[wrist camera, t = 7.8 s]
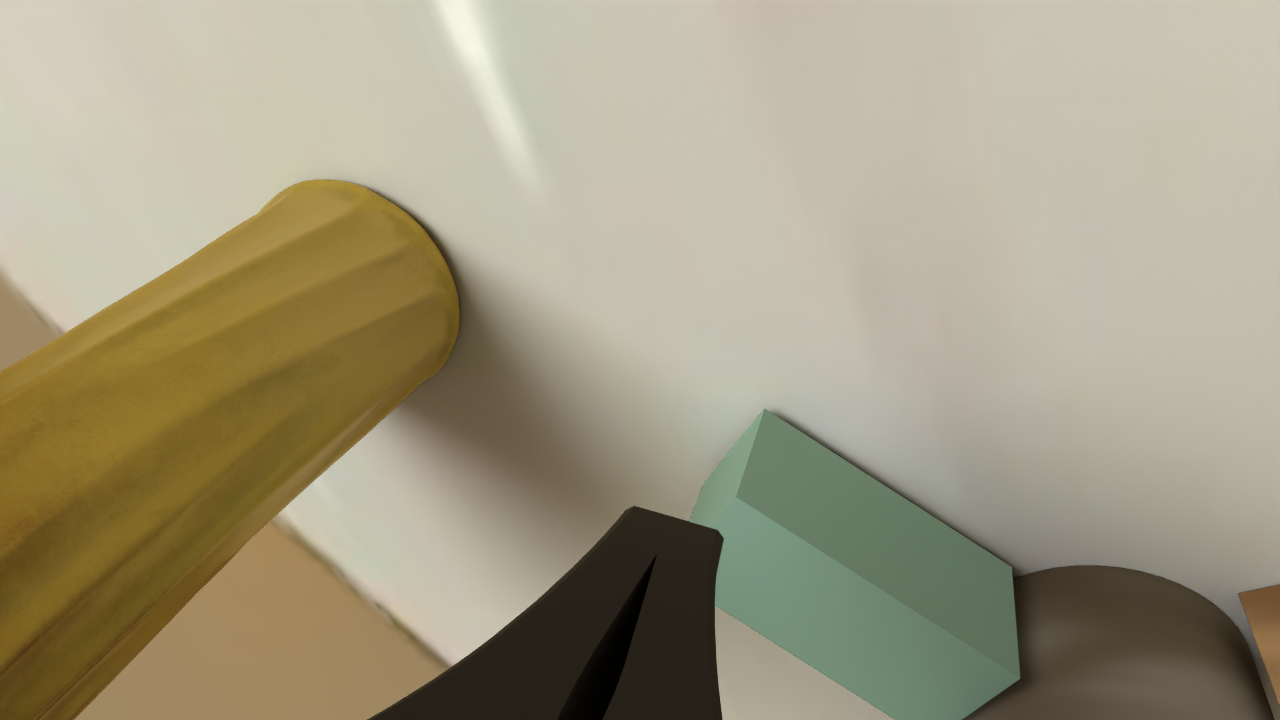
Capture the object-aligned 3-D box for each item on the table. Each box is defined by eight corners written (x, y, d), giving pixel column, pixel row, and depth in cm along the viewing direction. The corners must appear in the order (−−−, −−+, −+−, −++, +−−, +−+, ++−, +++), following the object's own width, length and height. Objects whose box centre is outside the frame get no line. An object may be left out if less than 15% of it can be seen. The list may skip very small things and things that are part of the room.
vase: (467, 406, 25) (34, 918, 13) (275, 360, 26) (-275, 789, 15) (459, 199, 22) (-120, 632, 10) (241, 158, 23) (-499, 500, 11)
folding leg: (1012, 567, 22) (1020, 678, 19) (933, 630, 24) (930, 741, 21) (764, 408, 22) (736, 496, 19) (703, 484, 24) (668, 575, 21)
